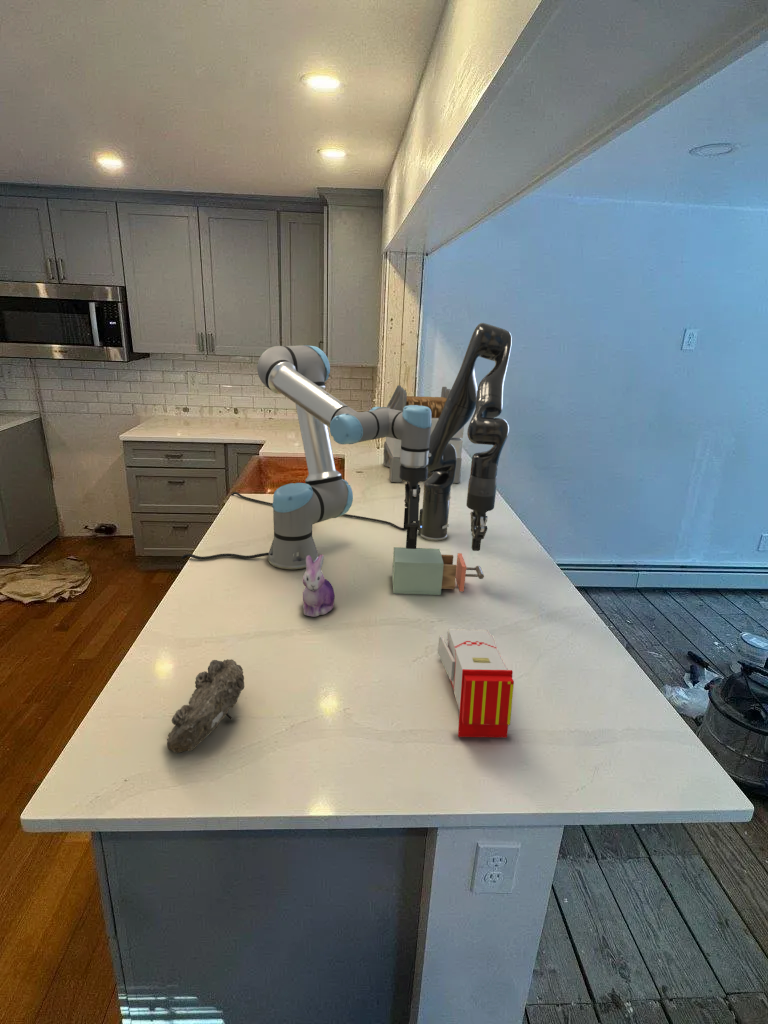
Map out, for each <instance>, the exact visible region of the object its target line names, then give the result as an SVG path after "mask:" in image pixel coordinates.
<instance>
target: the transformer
mask: <svg viewBox="0 0 768 1024" xmlns="http://www.w3.org/2000/svg"><path fill="white" fill-rule="evenodd" d="M450 391H451V388H447V386H442V387H441V392H440V393H441V394H440V396H415V395H414V396H413V395H412V396H411V395H407V394H408V393H407V390H406V389H404V388H403V387H402V385H399V384H398V385H397V386H396V388H395V390H394V392H393V394H392V395H391V398H390V400H389V402H388V404H387V405H386V407H387V408H389V409H394V410H399V411H403V408H404V407H405V406H408V405H419V406H426V407H429V408H430V409H431V423H432V426H431V433H432V432H433V430H434V428H435V426H436V423H437V421H438V419H439V417H440V415H441V412H442V410H443V407H444V405H445V402H446V400H447V397H448V395H449V393H450ZM464 429H465V425H464V426H463V427H462V428H461V429H460V430H459V431H458V432H457V433H456V434H455V435H454V436H453V437H452V438H451V440H450V441H449V442H448V443H450V444H452V445H453V446H454V448H455V450H456V455H457V461H456V469H455V476H454V482H453V484H455V483H456V484H459V483H461V472H462V461H463V460H462V453H463V442H464V441H463V440H462V439H463V438H464V431H465V430H464ZM430 435H431V434H430ZM400 453H401V440H399V439H395V438H391V437H384V442H383V466H384V467H388V468H389V475H388V476H389V477H388V478H389V480H390V482H391V483H402V482H403V480H402V479H400V477H399V475H400V465H401V463H400Z"/></svg>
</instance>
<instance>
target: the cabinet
mask: <svg viewBox="0 0 768 1024" xmlns="http://www.w3.org/2000/svg"><path fill="white" fill-rule="evenodd" d="M392 554H393V555H392V556H393V557H392V573H391V574H392V575H391V579H392V581H391V582H392V593H393V594H398V595H399V594H401V595H402V594H403V595H431V596H433V595H434V596H435V595H436V596H441V595H442V577H443V566H444V563H443V559H442V556H441V555H442V553H441V549H440V548H431V547H430V548H427V547H426V548H425V547H416V549H406V547H397V546H393V552H392Z"/></svg>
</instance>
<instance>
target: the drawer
mask: <svg viewBox="0 0 768 1024" xmlns="http://www.w3.org/2000/svg"><path fill="white" fill-rule="evenodd" d="M441 556H442V559H443V563H444V566H443V577H442V588H441V590H442V589H444V590H445V589H446V590H455V587H456V584H457V587H458V591H459V592H462V593H463V592H465V585H466V584H465V583H466V578H467V577H468V578H478V579H479V580H483V579H484V578H485V574H484V573H483V570H482V567H481V566H480V565H476V566H475V567H468V566H467V564H466V561H465V558H464V556H463V553H462V552H458V553H457V556H456V564H454V554H441ZM467 571H475V572H476V573H467Z"/></svg>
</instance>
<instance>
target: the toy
mask: <svg viewBox="0 0 768 1024" xmlns="http://www.w3.org/2000/svg"><path fill="white" fill-rule="evenodd" d="M446 640H447V643H446V641H445V639H444V636H443V635H442V634H439V637H438V646H437V656H438V657H439V659H440V661H441V663H442V666H443V668H444V670H445V672H446V674H447V677H448V679H449V681H450V684H451V687H452V690H453V693H454V697H455V701H456V705H457V708H458V711H459V714H458V715H459V716H458V730H457V731H458V732H457V737H458V738H508V731H509V726H510V725H511V717H512V707H513V697H514V696H513V695H514V684H515V680H514V679H513V673H514V671H513V670H512V669H508V667H507V665H506V662H505V661H504V659H503V658H502V655H501V653H500V651H499V649H498V647H497V643H496V639H495V637H494V635H493V634H491V632H490V631H489V629H467V628H466V629H465V628H463V629H461V628H460V629H459V628H448V630H447V639H446Z"/></svg>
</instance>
